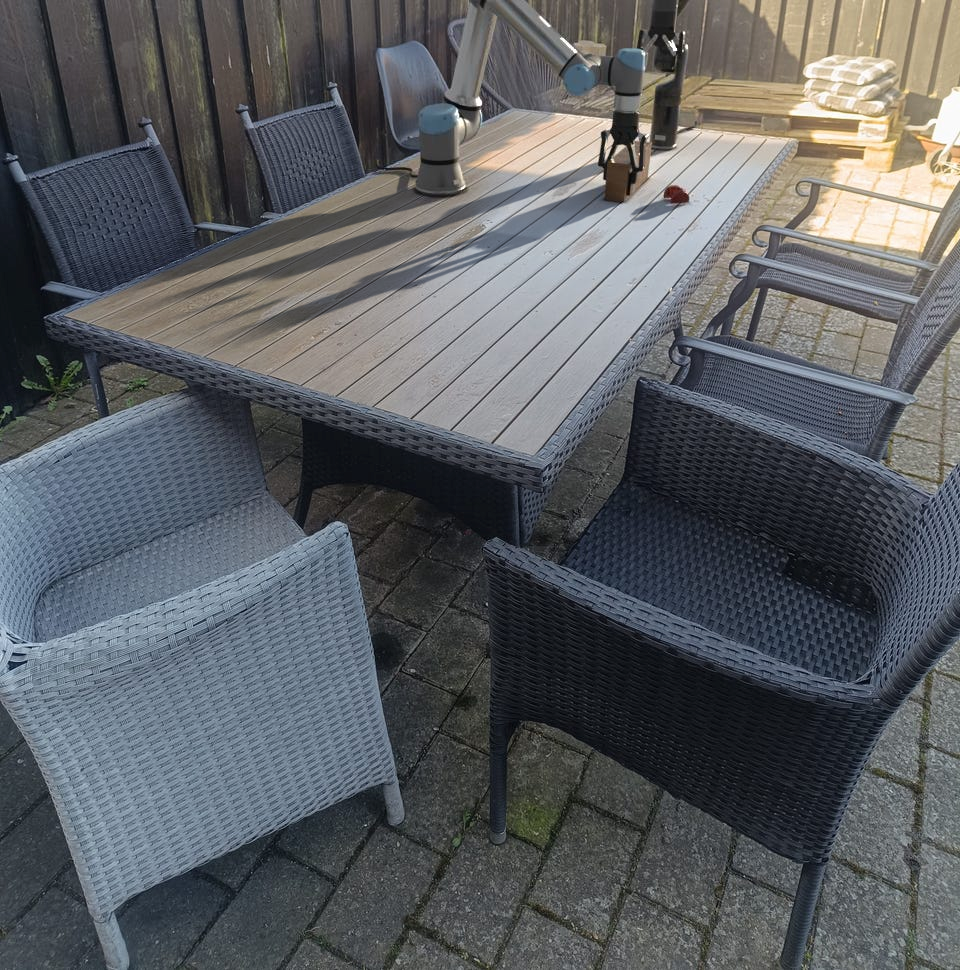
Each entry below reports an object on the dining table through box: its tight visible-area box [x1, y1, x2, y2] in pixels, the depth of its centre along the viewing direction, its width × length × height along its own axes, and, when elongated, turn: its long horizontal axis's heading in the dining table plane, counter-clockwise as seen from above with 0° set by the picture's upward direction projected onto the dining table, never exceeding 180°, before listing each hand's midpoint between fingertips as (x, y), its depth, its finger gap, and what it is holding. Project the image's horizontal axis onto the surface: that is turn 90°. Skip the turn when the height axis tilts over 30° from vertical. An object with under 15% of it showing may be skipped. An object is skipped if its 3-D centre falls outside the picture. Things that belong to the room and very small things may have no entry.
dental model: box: [663, 184, 690, 205], centre depth 248 cm, size 6×4×8 cm
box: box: [603, 140, 652, 203], centre depth 256 cm, size 27×6×11 cm, turn 156°
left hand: (618, 192), depth 252 cm, fingers closed on box, 6 cm apart
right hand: (658, 67), depth 263 cm, fingers open, 8 cm apart
